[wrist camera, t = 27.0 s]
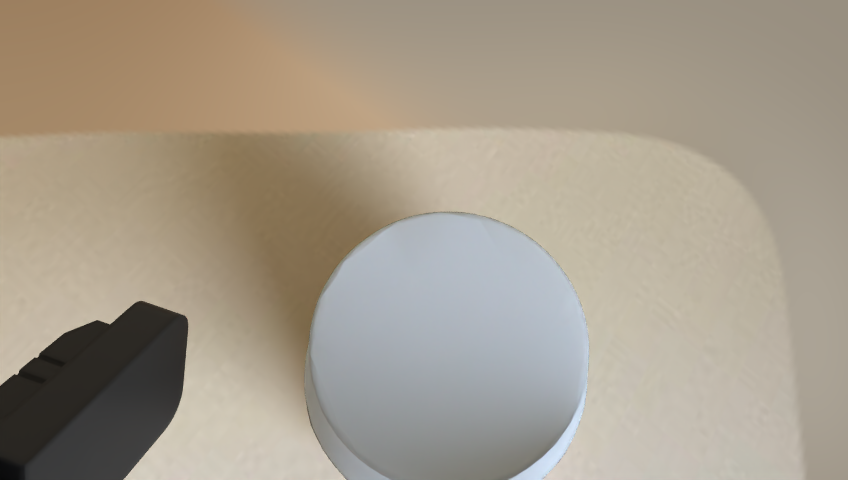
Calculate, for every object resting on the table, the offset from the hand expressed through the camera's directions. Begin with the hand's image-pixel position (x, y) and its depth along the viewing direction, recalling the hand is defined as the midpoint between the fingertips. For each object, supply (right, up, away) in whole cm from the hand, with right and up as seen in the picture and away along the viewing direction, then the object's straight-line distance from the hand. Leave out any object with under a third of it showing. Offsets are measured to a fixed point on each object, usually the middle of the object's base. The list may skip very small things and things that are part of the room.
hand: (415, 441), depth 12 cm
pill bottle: (+1, -2, +10) cm, 11 cm away
